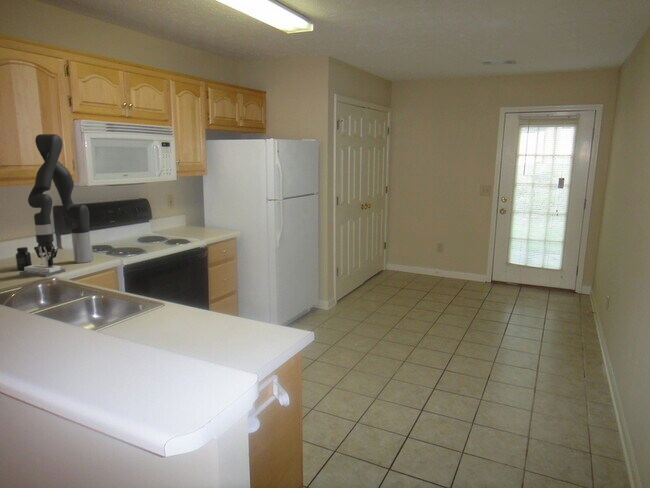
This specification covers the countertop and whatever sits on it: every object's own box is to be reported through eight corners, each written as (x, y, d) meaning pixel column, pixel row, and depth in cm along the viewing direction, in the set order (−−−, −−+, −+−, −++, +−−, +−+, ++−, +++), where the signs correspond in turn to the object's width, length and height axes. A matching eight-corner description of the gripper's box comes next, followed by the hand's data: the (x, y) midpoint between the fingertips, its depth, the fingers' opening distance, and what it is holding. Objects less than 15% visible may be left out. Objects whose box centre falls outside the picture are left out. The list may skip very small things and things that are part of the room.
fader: (49, 269, 235) (47, 255, 234) (55, 269, 234) (53, 255, 233) (41, 271, 231) (40, 257, 230) (48, 271, 230) (46, 257, 229)
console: (40, 269, 242) (39, 263, 241) (65, 271, 237) (64, 264, 237) (19, 274, 231) (18, 268, 230) (45, 276, 226) (45, 270, 225)
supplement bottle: (35, 268, 246) (32, 246, 244) (24, 270, 239) (21, 248, 237) (25, 267, 248) (22, 246, 246) (14, 270, 241) (11, 248, 239)
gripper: (61, 232, 231) (64, 265, 234) (39, 231, 235) (43, 263, 238) (48, 234, 224) (52, 268, 227) (26, 233, 228) (31, 266, 231)
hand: (48, 265), depth 232 cm, fingers open, 3 cm apart
